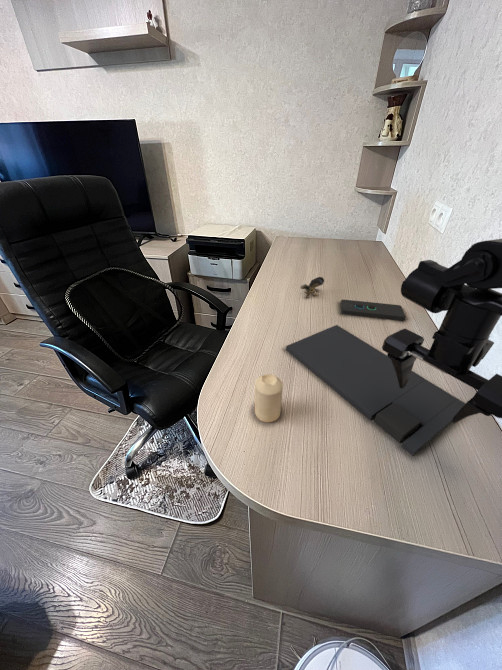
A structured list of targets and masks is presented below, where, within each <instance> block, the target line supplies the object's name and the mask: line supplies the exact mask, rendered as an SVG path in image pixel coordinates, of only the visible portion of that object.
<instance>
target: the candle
mask: <svg viewBox="0 0 502 670" xmlns="http://www.w3.org/2000/svg"><path fill="white" fill-rule="evenodd" d="M283 387H284V385H283V381H282V380H281V379H280V377H278V376H276V375H275V374H272V373H267V374H263V375H261V376H259V377H258V378H257V379H256V380H255V383H254V414H255V416H256V418H257V419H258V420H260V421H261V422H264V423H273V422H276V421H277V420H278V419H279V417H280V415H281V409H282V399H283Z"/></svg>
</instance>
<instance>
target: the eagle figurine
mask: <svg viewBox="0 0 502 670" xmlns="http://www.w3.org/2000/svg"><path fill="white" fill-rule="evenodd" d="M324 283H325V279H324V277H323V276H318V277H316V278H313V279H311V281H310V282H309V284H306V283H304V284H301V285H300V286H299V288H300V289H301V290H305V291H303V293H304V294H306V297H305V298H306V299H307V298H308V297H310V295H311V294H313V295H315V296H317V291H318V289H316V288H318V287H319V286H320V287H321V286H322V285H324Z"/></svg>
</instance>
